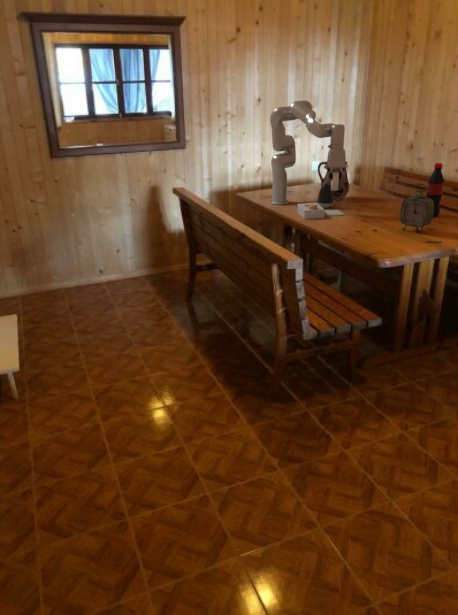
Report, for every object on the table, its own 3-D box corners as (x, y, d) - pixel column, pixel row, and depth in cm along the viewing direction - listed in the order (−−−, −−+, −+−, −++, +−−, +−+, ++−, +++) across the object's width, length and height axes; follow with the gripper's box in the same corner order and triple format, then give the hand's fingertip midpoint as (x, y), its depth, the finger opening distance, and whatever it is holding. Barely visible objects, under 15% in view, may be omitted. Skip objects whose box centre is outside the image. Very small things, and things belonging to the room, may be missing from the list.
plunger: (307, 214, 302) (307, 204, 300) (315, 214, 303) (316, 204, 300) (309, 216, 298) (309, 206, 295) (317, 216, 298) (318, 206, 296)
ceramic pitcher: (350, 201, 334) (353, 162, 324) (318, 202, 335) (320, 163, 325) (345, 196, 350) (347, 159, 340) (314, 196, 351) (316, 159, 341)
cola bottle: (438, 214, 298) (446, 162, 285) (439, 217, 290) (447, 164, 278) (423, 213, 300) (430, 161, 288) (423, 217, 293) (430, 164, 281)
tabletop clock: (398, 230, 269) (403, 183, 259) (406, 227, 275) (412, 180, 264) (424, 235, 259) (431, 186, 249) (432, 231, 265) (439, 183, 255)
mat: (322, 211, 311) (322, 210, 311) (338, 210, 312) (338, 209, 312) (327, 216, 300) (327, 215, 300) (344, 215, 301) (344, 214, 301)
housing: (297, 211, 313) (297, 203, 311) (316, 210, 314) (316, 202, 312) (304, 218, 296) (304, 210, 294) (324, 217, 297) (324, 209, 295)
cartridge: (329, 189, 302) (330, 168, 297) (337, 188, 302) (338, 168, 297) (332, 190, 298) (333, 169, 293) (339, 190, 298) (340, 169, 294)
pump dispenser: (333, 209, 316) (334, 184, 310) (316, 209, 318) (317, 184, 312) (333, 205, 325) (335, 181, 319) (317, 205, 327) (318, 181, 321)
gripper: (324, 148, 286) (322, 181, 294) (353, 147, 288) (351, 179, 295) (320, 146, 293) (319, 178, 300) (349, 145, 294) (346, 177, 302)
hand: (335, 178), depth 298 cm, fingers closed on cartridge, 4 cm apart
